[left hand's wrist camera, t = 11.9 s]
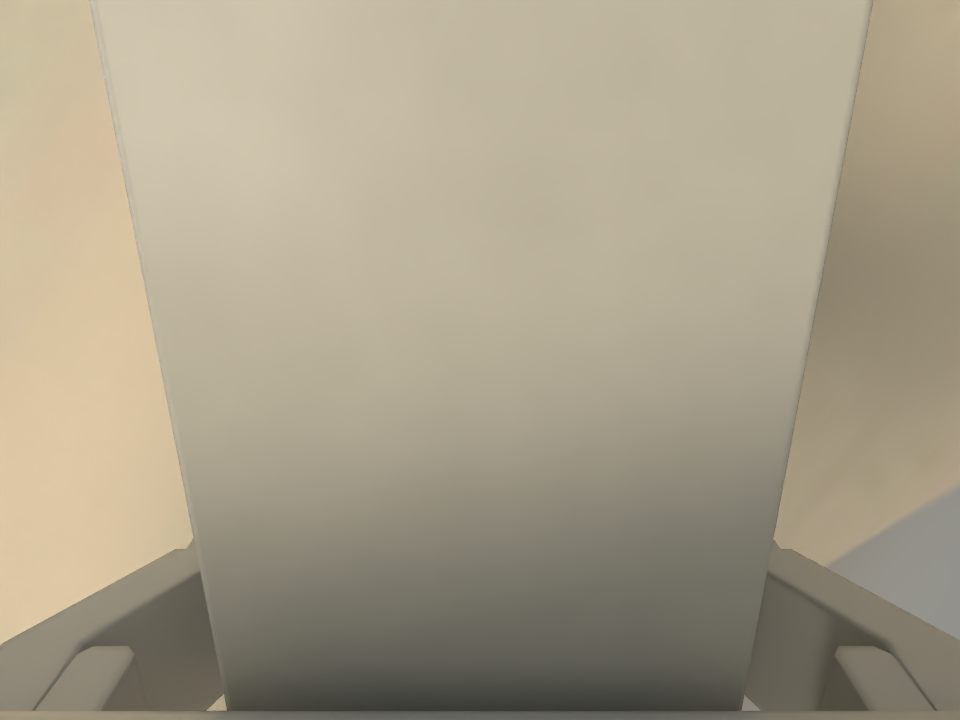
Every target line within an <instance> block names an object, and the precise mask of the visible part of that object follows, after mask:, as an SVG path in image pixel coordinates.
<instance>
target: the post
mask: <svg viewBox="0 0 960 720" xmlns="http://www.w3.org/2000/svg"><path fill="white" fill-rule="evenodd" d="M89 1H90V6H91V11H92V16H93V21H94V26H95V32H96V37H97V42H98V47H99V52H100V57H101V63H102V68H103V73H104V78H105V83H106V88H107V93H108V99H109V104H110V109H111V114H112V119H113V124H114V129H115V135H116V140H117V145H118V150H119V155H120V160H121V166H122V171H123V176H124V181H125V186H126V191H127V196H128V202H129V207H130V212H131V217H132V222H133V227H134V232H135V238H136V243H137V248H138V253H139V258H140V263H141V269H142V274H143V279H144V284H145V289H146V294H147V299H148V305H149V310H150V315H151V320H152V325H153V330H154V335H155V341H156V346H157V351H158V356H159V361H160V366H161V372H162V377H163V382H164V387H165V392H166V397H167V402H168V408H169V413H170V418H171V423H172V428H173V433H174V439H175V444H176V449H177V454H178V459H179V464H180V469H181V475H182V480H183V485H184V490H185V495H186V500H187V505H188V511H189V516H190V521H191V526H192V531H193V536H194V542H195V547H196V552H197V557H198V562H199V567H200V572H201V578H202V583H203V588H204V593H205V598H206V603H207V608H208V614H209V619H210V624H211V629H212V634H213V639H214V645H215V650H216V655H217V660H218V665H219V670H220V675H221V681H222V686H223V691H224V696H225V701H226V706H227V711H741V709H742V704H743V699H744V693H745V688H746V683H747V677H748V672H749V666H750V661H751V656H752V650H753V645H754V640H755V634H756V629H757V623H758V618H759V613H760V607H761V602H762V597H763V591H764V586H765V580H766V575H767V570H768V564H769V559H770V553H771V548H772V543H773V537H774V532H775V527H776V521H777V516H778V510H779V505H780V500H781V494H782V489H783V484H784V478H785V473H786V467H787V462H788V457H789V451H790V446H791V441H792V435H793V430H794V424H795V419H796V414H797V408H798V403H799V397H800V392H801V387H802V381H803V376H804V371H805V365H806V360H807V354H808V349H809V344H810V338H811V333H812V328H813V322H814V317H815V311H816V306H817V301H818V295H819V290H820V285H821V279H822V274H823V268H824V263H825V258H826V252H827V247H828V242H829V236H830V231H831V225H832V220H833V215H834V209H835V204H836V198H837V193H838V188H839V182H840V177H841V172H842V166H843V161H844V155H845V150H846V145H847V139H848V134H849V129H850V123H851V118H852V112H853V107H854V102H855V96H856V91H857V86H858V80H859V75H860V69H861V64H862V59H863V53H864V48H865V42H866V37H867V32H868V26H869V21H870V16H871V10H872V5H873V0H89Z"/></svg>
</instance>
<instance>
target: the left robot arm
mask: <svg viewBox="0 0 960 720" xmlns="http://www.w3.org/2000/svg"><path fill="white" fill-rule="evenodd" d="M223 694H224V691H223V686H222V681H221V675H220V670H219V665H218V660H217V655H216V650H215V645H214V639H213V634H212V629H211V624H210V619H209V614H208V608H207V603H206V598H205V593H204V588H203V583H202V578H201V572H200V567H199V562H198V557H197V552H196V547H195V542H194V538H193V540H192V541H191V543H190V544H189V546H188V547H187V549H175V550H173V551H171V552H170V553H168V554H166V555H164V556H162V557H160V558H159V559H157V560H155V561H153V562H151V563H149V564H148V565H146V566H144V567H142V568H140V569H138V570H136V571H135V572H133V573H131V574H129V575H127V576H125V577H124V578H122V579H120V580H118V581H116V582H114V583H113V584H111V585H109V586H107V587H105V588H103V589H102V590H100V591H98V592H96V593H94V594H92V595H90V596H89V597H87V598H85V599H83V600H81V601H79V602H78V603H76V604H74V605H72V606H70V607H68V608H67V609H65V610H63V611H61V612H59V613H57V614H55V615H54V616H52V617H50V618H48V619H46V620H44V621H43V622H41V623H39V624H37V625H35V626H33V627H32V628H30V629H28V630H26V631H24V632H22V633H21V634H19V635H17V636H15V637H13V638H11V639H9V640H8V641H6V642H4V643H2V645H1V646H0V720H960V640H958V639H956V638H955V637H953V636H951V635H949V634H947V633H945V632H944V631H942V630H940V629H938V628H936V627H934V626H932V625H930V624H929V623H927V622H925V621H923V620H921V619H919V618H918V617H916V616H914V615H912V614H910V613H908V612H906V611H905V610H903V609H901V608H899V607H897V606H895V605H893V604H892V603H890V602H888V601H886V600H884V599H882V598H881V597H879V596H877V595H875V594H873V593H871V592H869V591H868V590H866V589H864V588H862V587H860V586H858V585H856V584H855V583H853V582H851V581H849V580H847V579H845V578H843V577H842V576H840V575H838V574H836V573H834V572H832V571H831V570H829V569H827V568H825V567H823V566H821V565H819V564H818V563H816V562H814V561H812V560H810V559H808V558H806V557H805V556H803V555H801V554H799V553H797V552H795V551H793V550H792V549H780V548H779V546H778V545H777V543H776V542H775V540H774V539H773V543H772V548H771V553H770V559H769V564H768V570H767V575H766V580H765V586H764V591H763V597H762V602H761V607H760V613H759V618H758V623H757V629H756V634H755V640H754V645H753V650H752V656H751V661H750V666H749V672H748V677H747V683H746V688H745V693H744V695H745V696H746V697H747V698H748V699H750V700H751V701H752V702H753V703H754V704H755V705H756V706H757V707H758V708H759V709H760V710H761V711H206V710H207V709H208V708H209V707H210V706H211V705H212V704H213V703H214V702H215V701H216V700H217V699H218V698H219V697H221V696H222V695H223Z"/></svg>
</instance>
